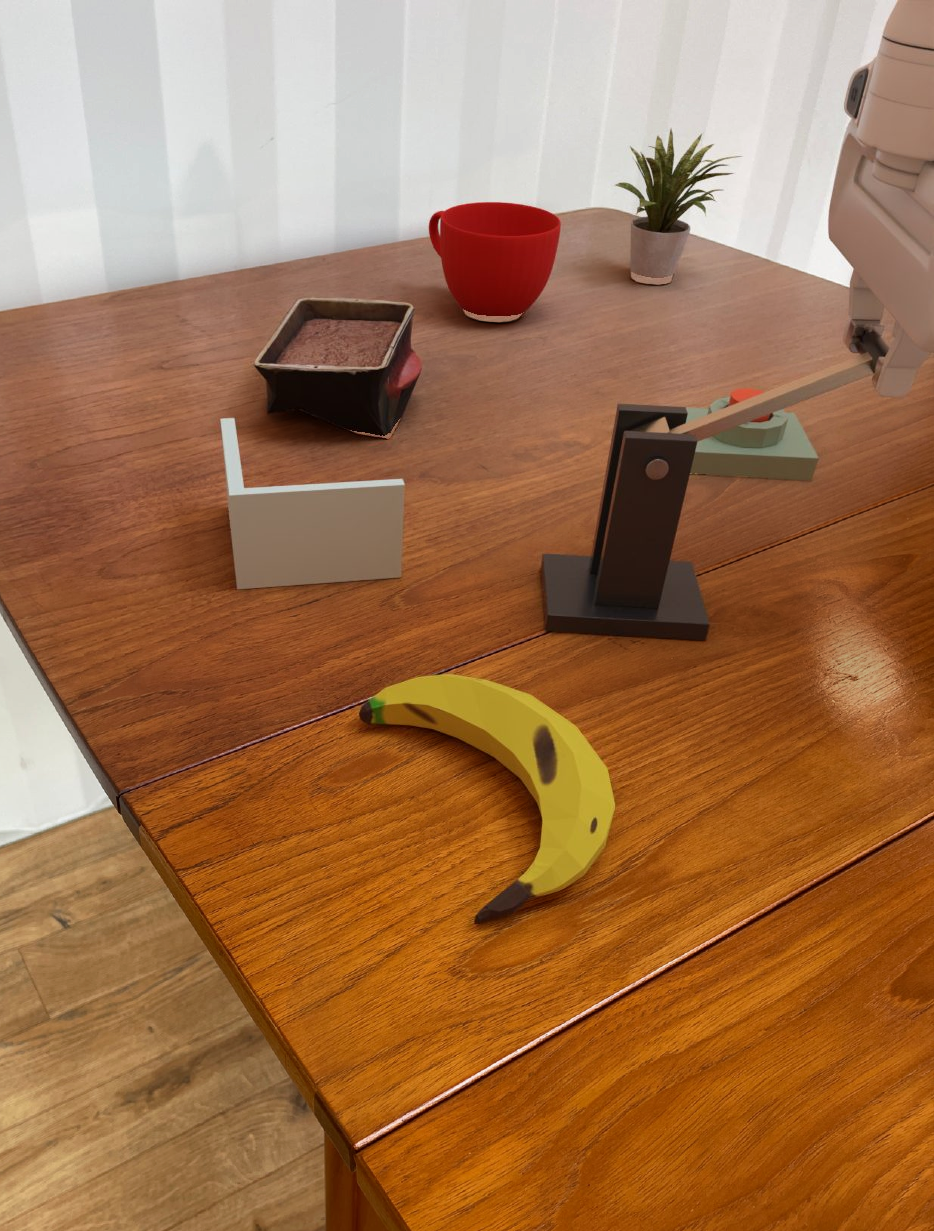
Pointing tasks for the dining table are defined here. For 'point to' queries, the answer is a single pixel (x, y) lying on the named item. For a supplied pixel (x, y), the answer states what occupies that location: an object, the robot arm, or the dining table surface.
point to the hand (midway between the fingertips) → (872, 369)
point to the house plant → (666, 207)
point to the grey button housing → (755, 448)
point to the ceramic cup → (495, 254)
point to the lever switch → (782, 393)
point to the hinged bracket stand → (633, 542)
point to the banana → (517, 769)
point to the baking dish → (343, 362)
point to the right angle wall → (311, 528)
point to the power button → (744, 395)
